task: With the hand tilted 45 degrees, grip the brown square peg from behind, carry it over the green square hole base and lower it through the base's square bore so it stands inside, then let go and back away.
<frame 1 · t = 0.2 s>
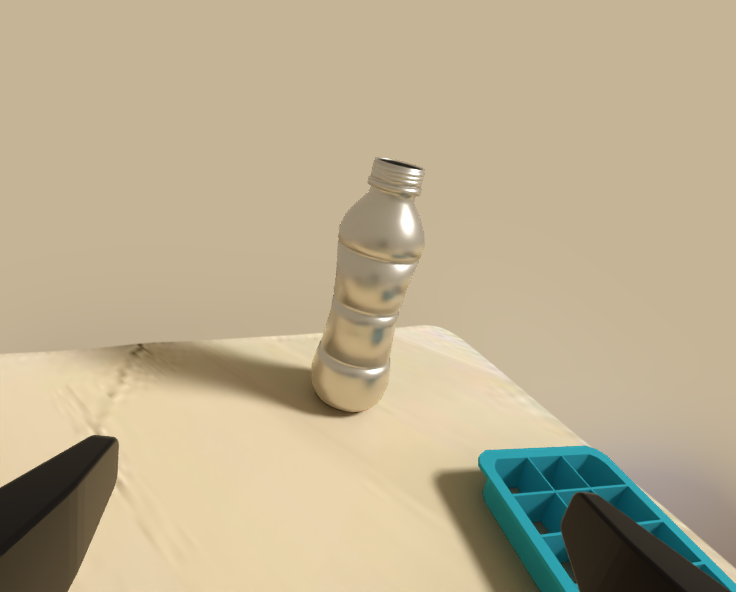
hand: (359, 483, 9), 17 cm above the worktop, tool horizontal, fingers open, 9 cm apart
plastic bottle: (343, 399, 40), on the worktop
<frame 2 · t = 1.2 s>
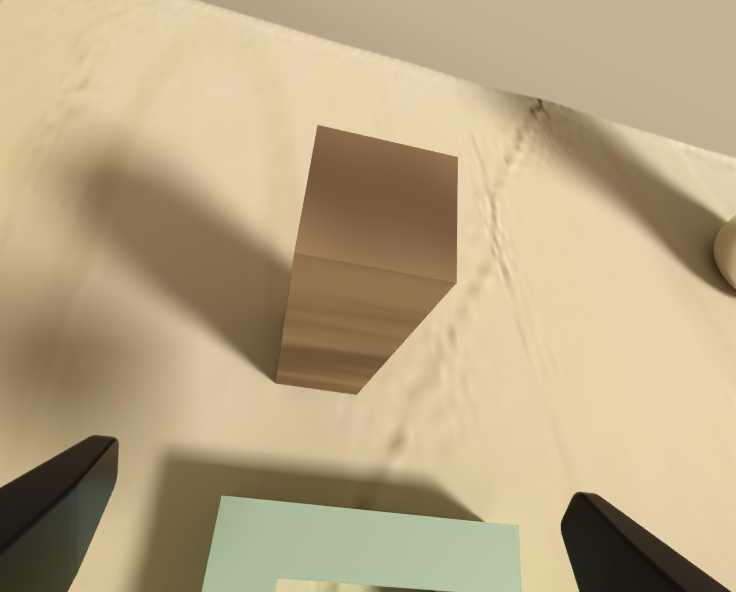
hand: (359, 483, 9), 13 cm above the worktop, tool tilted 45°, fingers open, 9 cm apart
brown square peg: (321, 350, 24), on the worktop
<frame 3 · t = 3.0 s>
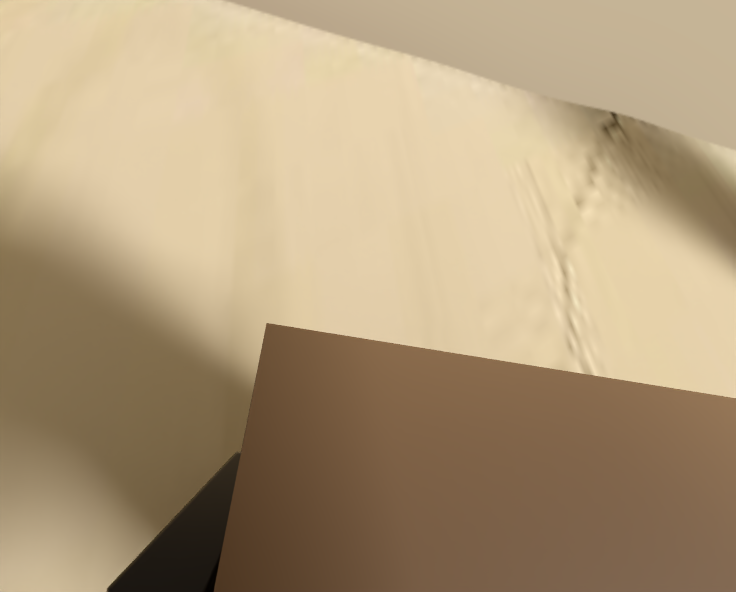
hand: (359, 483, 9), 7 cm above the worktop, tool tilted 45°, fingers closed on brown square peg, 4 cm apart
brown square peg: (313, 539, 14), on the worktop, touching gripper
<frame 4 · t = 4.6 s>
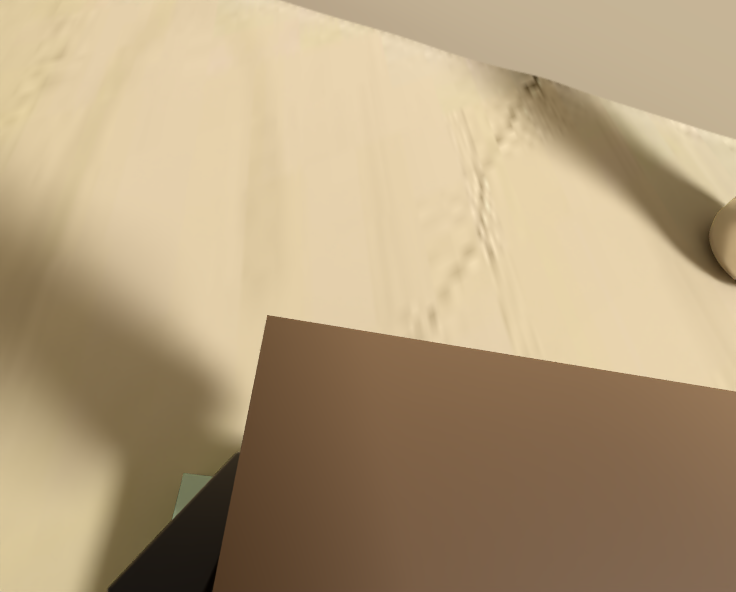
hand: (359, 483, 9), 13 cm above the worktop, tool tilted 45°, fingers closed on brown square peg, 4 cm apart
plastic bottle: (732, 256, 32), on the worktop
brown square peg: (313, 537, 14), point 6 cm above the worktop, touching gripper
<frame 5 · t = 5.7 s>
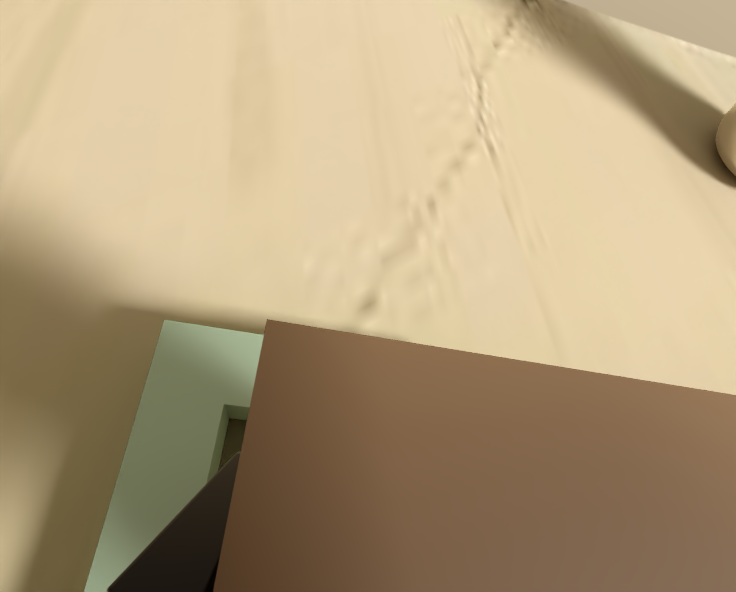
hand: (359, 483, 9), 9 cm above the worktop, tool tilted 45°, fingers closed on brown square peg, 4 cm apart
green square hole base: (307, 529, 17), on the worktop
brown square peg: (313, 539, 14), point 3 cm above the worktop, touching gripper
when the fingers open (8 cm above the worktop, at t = 6.3 s): brown square peg drops 1 cm, resting in green square hole base.
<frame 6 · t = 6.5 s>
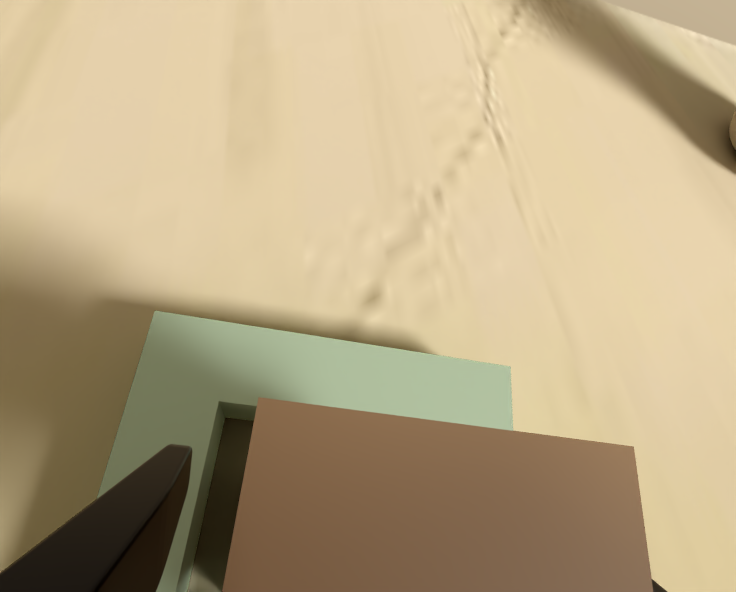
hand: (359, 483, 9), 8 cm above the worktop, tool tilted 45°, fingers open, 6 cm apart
green square hole base: (308, 536, 16), on the worktop
brown square peg: (308, 536, 16), resting in green square hole base
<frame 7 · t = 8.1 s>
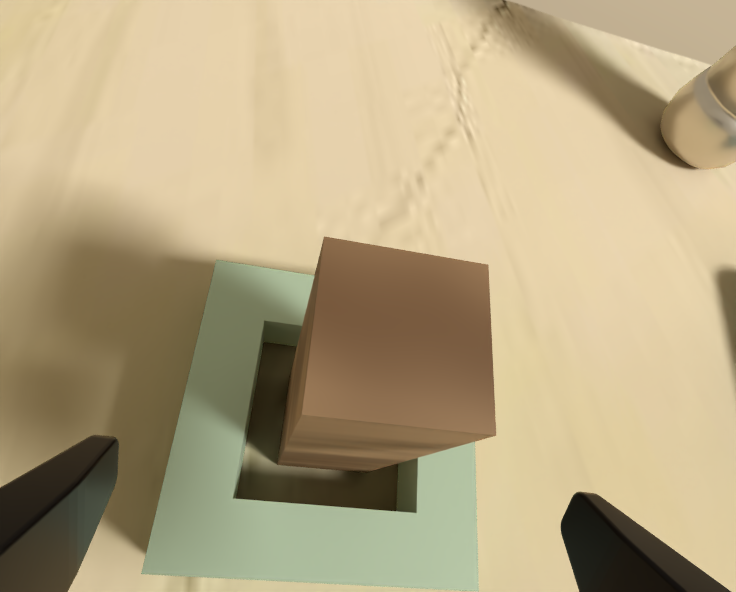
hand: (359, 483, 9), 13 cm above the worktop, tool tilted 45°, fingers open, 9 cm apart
plastic bottle: (682, 146, 36), on the worktop
green square hole base: (327, 423, 22), on the worktop
brown square peg: (326, 423, 22), resting in green square hole base
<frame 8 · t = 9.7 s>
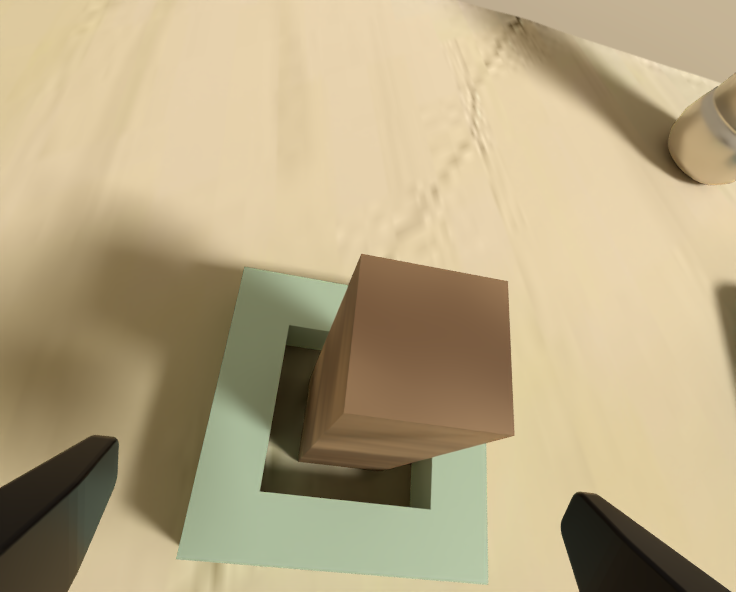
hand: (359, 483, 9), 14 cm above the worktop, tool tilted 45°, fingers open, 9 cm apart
plastic bottle: (689, 162, 37), on the worktop
green square hole base: (345, 423, 23), on the worktop
brown square peg: (344, 423, 23), resting in green square hole base
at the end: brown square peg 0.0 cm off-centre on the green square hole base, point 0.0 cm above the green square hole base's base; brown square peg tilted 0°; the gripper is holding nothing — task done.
